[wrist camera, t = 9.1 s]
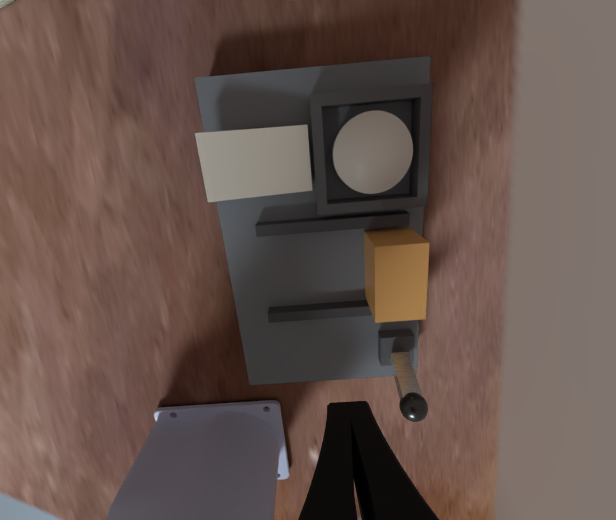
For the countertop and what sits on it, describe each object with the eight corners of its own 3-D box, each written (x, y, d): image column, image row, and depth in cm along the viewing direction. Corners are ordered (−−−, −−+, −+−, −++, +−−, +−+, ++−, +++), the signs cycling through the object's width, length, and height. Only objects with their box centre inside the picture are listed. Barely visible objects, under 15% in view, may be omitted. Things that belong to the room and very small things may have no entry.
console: (254, 365, 23) (246, 400, 20) (206, 85, 17) (184, 71, 14) (407, 355, 23) (423, 388, 20) (416, 65, 16) (441, 47, 13)
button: (333, 192, 17) (335, 196, 15) (329, 117, 15) (331, 114, 14) (403, 186, 16) (411, 190, 15) (404, 110, 15) (414, 106, 14)
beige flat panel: (209, 199, 16) (207, 202, 15) (196, 134, 14) (194, 133, 14) (308, 188, 16) (312, 190, 16) (303, 125, 15) (307, 124, 15)
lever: (386, 363, 19) (401, 427, 16) (388, 350, 18) (405, 415, 16) (409, 362, 19) (428, 425, 16) (412, 348, 18) (434, 413, 16)
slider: (365, 295, 19) (375, 322, 16) (363, 230, 17) (374, 246, 15) (407, 292, 19) (425, 319, 16) (409, 226, 17) (429, 242, 14)
